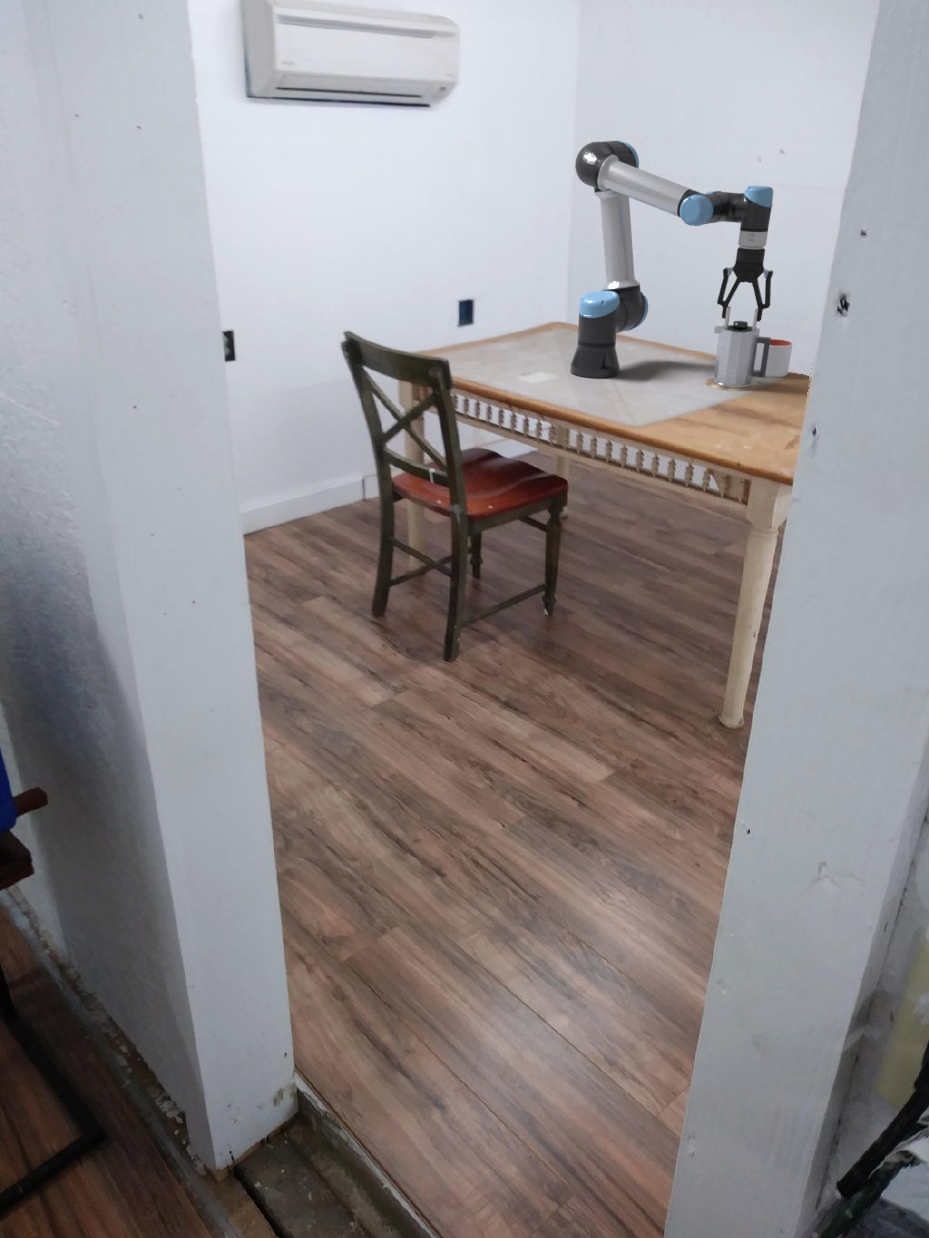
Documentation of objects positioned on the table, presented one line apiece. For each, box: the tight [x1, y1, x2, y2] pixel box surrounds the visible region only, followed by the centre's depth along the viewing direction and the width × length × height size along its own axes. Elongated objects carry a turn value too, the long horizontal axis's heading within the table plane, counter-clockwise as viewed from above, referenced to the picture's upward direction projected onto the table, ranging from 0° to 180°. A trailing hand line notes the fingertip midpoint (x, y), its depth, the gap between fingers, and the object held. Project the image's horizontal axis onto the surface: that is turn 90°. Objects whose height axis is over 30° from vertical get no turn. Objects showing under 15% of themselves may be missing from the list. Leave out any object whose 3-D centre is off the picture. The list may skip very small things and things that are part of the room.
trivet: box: [704, 377, 761, 392], centre depth 284 cm, size 16×16×1 cm
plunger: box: [732, 320, 749, 332], centre depth 278 cm, size 8×8×11 cm
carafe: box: [712, 324, 772, 389], centre depth 280 cm, size 16×11×16 cm
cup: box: [754, 338, 793, 378], centre depth 294 cm, size 10×10×10 cm
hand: (739, 331), depth 277 cm, fingers open, 7 cm apart
